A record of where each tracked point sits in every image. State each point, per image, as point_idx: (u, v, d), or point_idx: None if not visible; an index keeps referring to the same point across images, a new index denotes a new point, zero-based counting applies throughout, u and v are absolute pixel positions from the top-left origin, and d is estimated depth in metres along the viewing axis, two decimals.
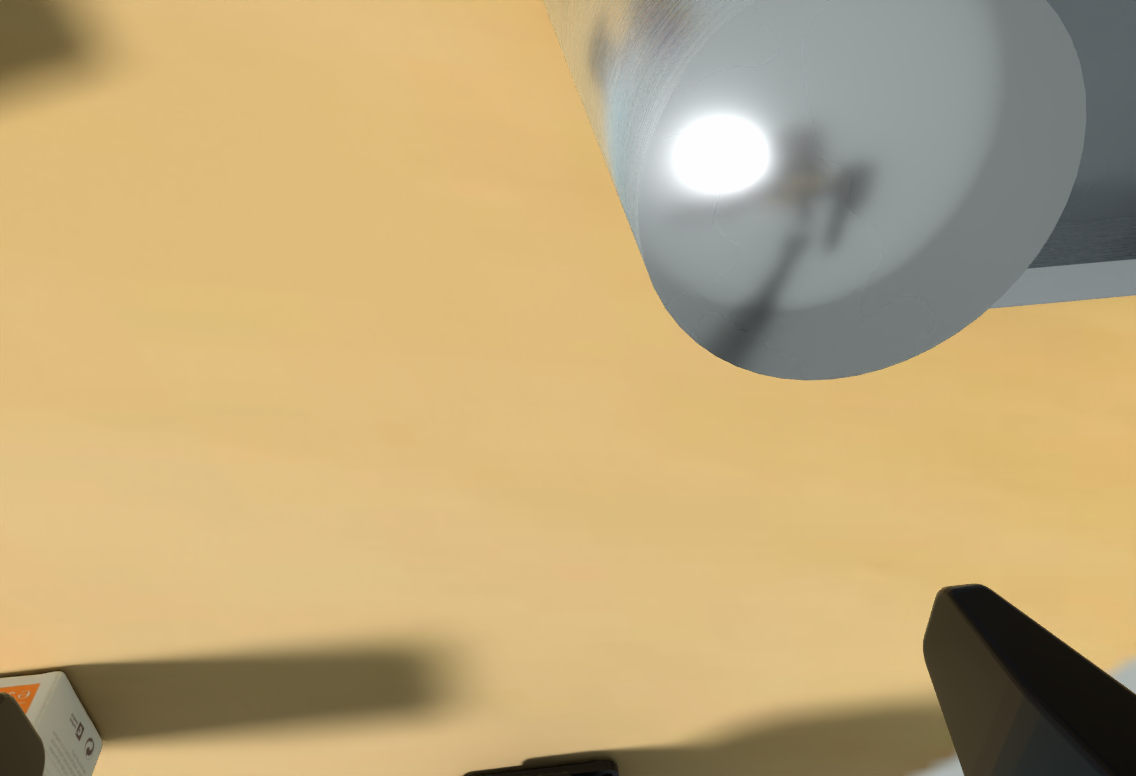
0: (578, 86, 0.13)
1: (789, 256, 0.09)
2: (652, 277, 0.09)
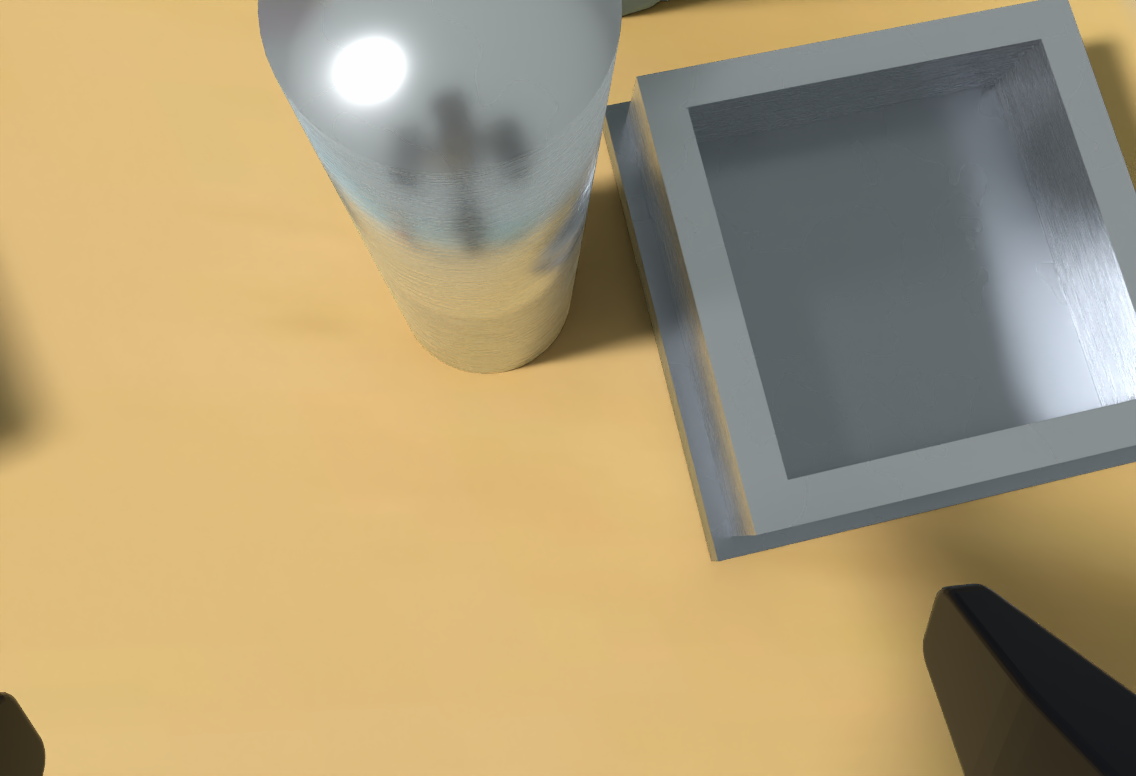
0: None
1: (397, 57, 0.11)
2: (284, 88, 0.11)
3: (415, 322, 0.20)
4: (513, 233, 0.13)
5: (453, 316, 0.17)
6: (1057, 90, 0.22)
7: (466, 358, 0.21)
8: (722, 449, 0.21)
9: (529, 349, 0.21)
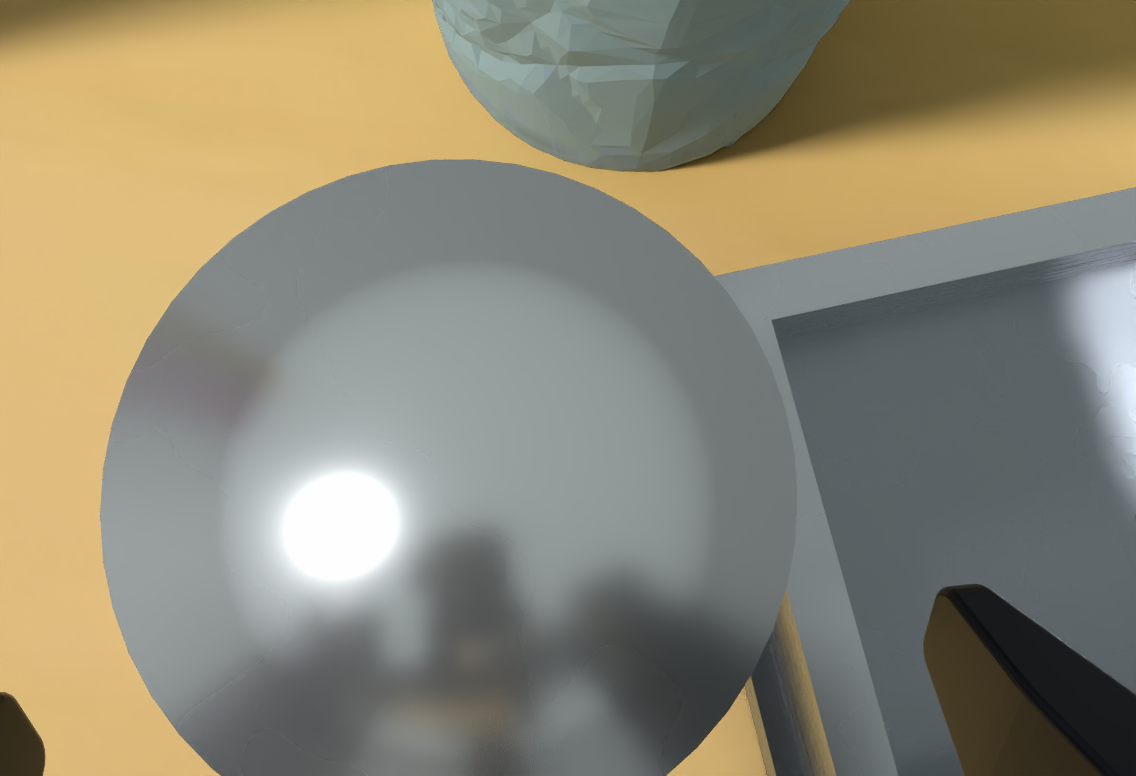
0: None
1: (370, 604, 0.05)
2: (147, 676, 0.05)
3: None
4: None
5: None
6: None
7: None
8: None
9: None
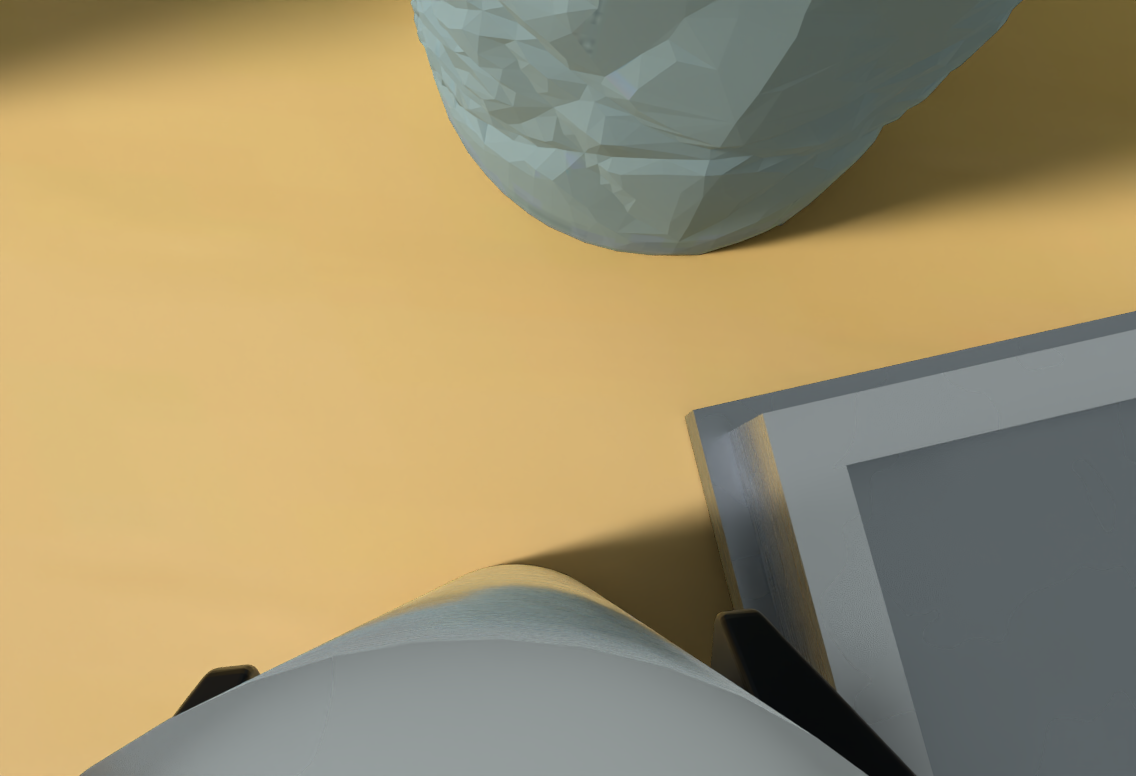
0: None
1: None
2: None
3: None
4: None
5: None
6: None
7: None
8: None
9: None
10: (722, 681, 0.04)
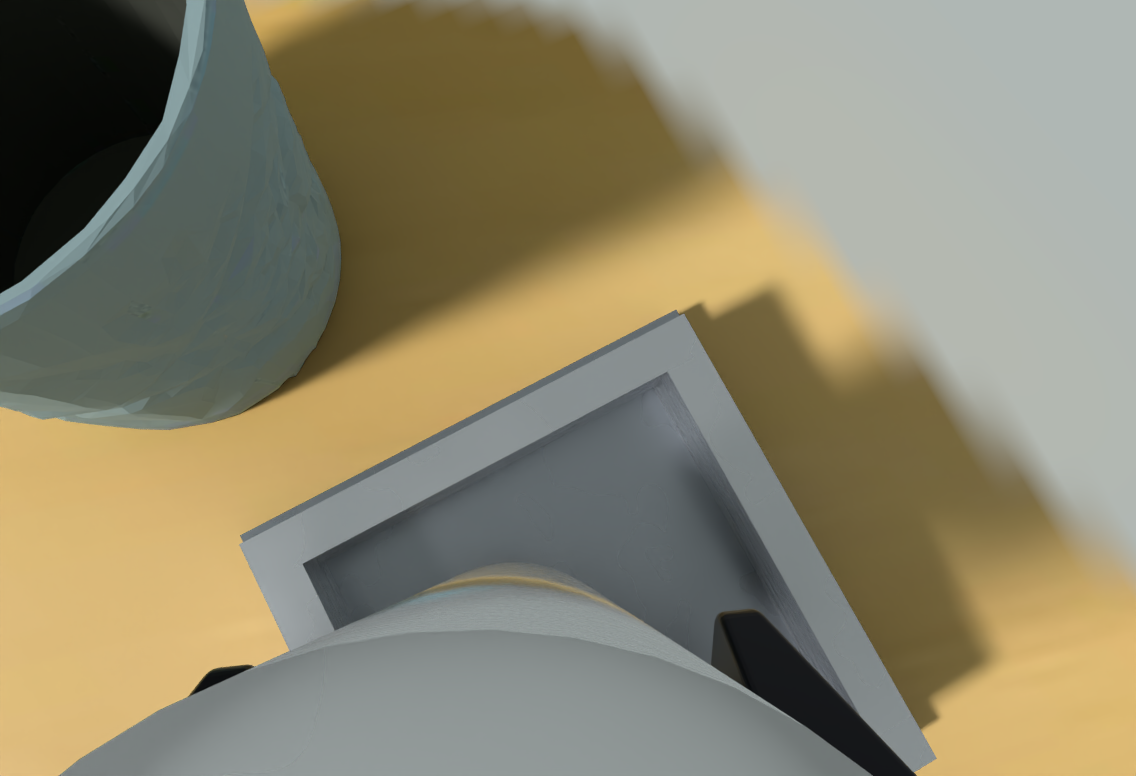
0: None
1: None
2: None
3: None
4: None
5: None
6: (696, 424, 0.20)
7: None
8: None
9: None
10: (714, 672, 0.04)
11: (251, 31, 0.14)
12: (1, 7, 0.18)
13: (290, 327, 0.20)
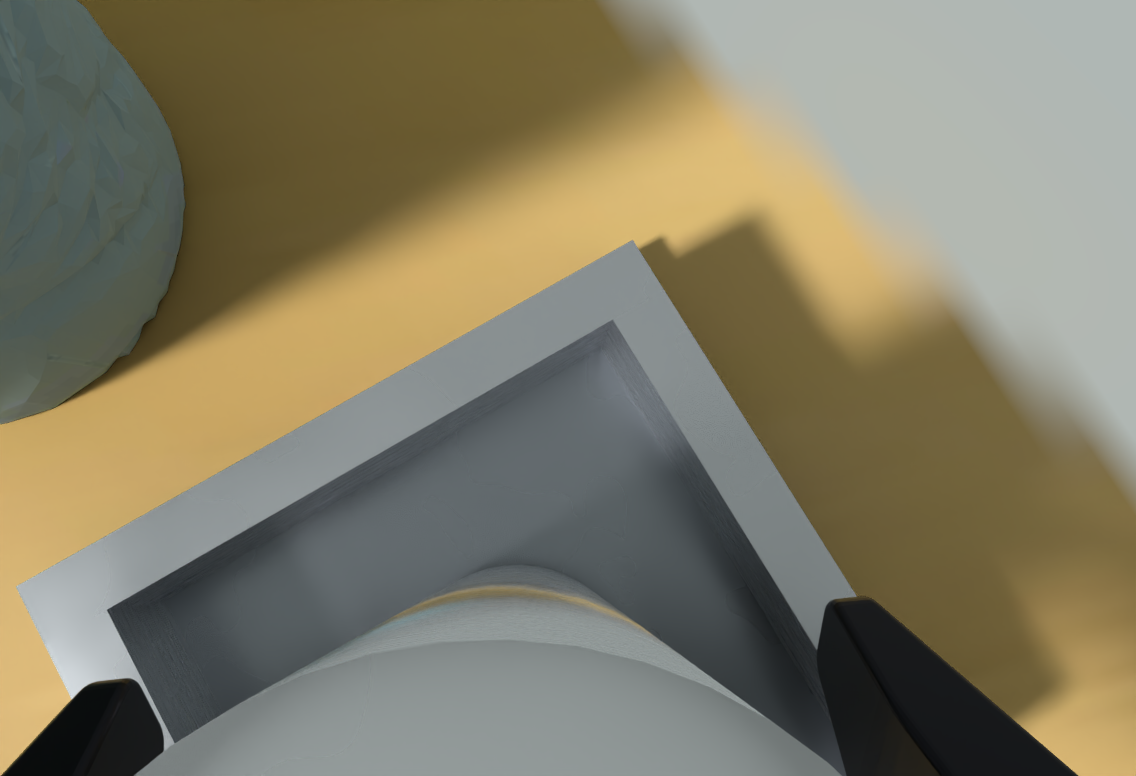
0: None
1: None
2: None
3: None
4: None
5: None
6: (655, 390, 0.14)
7: None
8: None
9: None
10: (697, 674, 0.04)
11: None
12: None
13: (91, 282, 0.15)
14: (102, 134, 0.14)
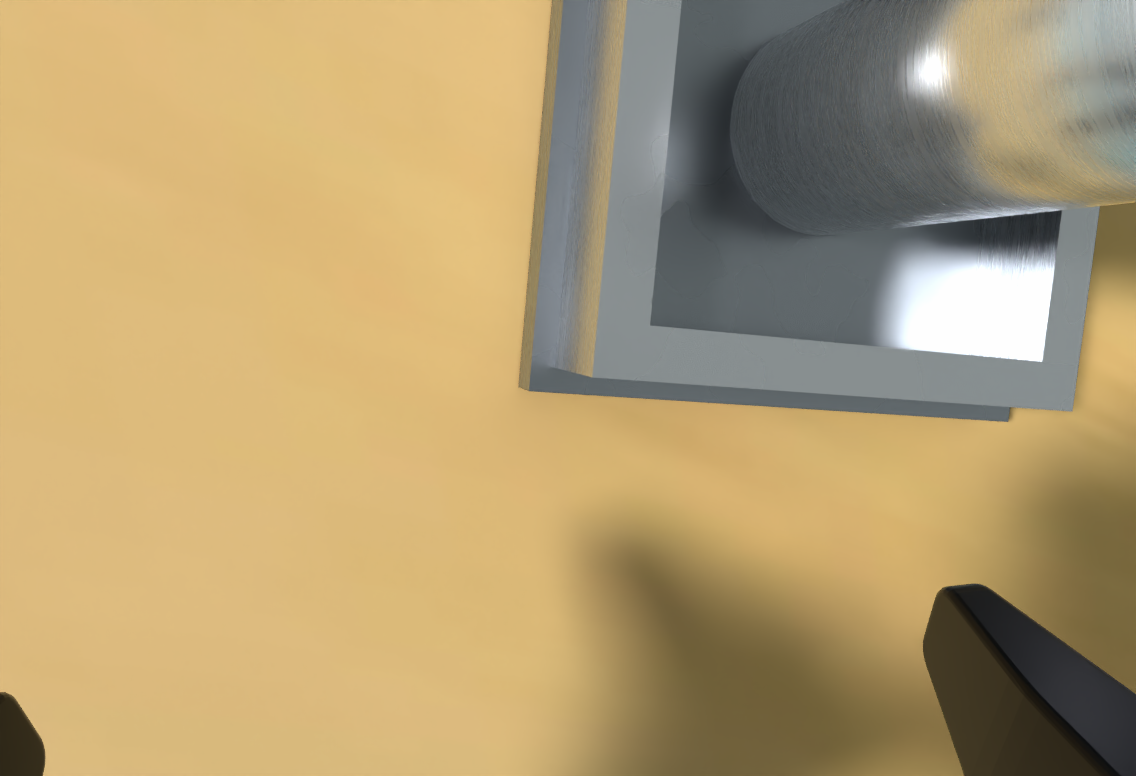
0: None
1: None
2: None
3: (825, 124, 0.15)
4: None
5: (947, 165, 0.13)
6: None
7: (800, 193, 0.17)
8: (584, 264, 0.16)
9: (854, 230, 0.18)
10: None
11: None
12: None
13: None
14: None
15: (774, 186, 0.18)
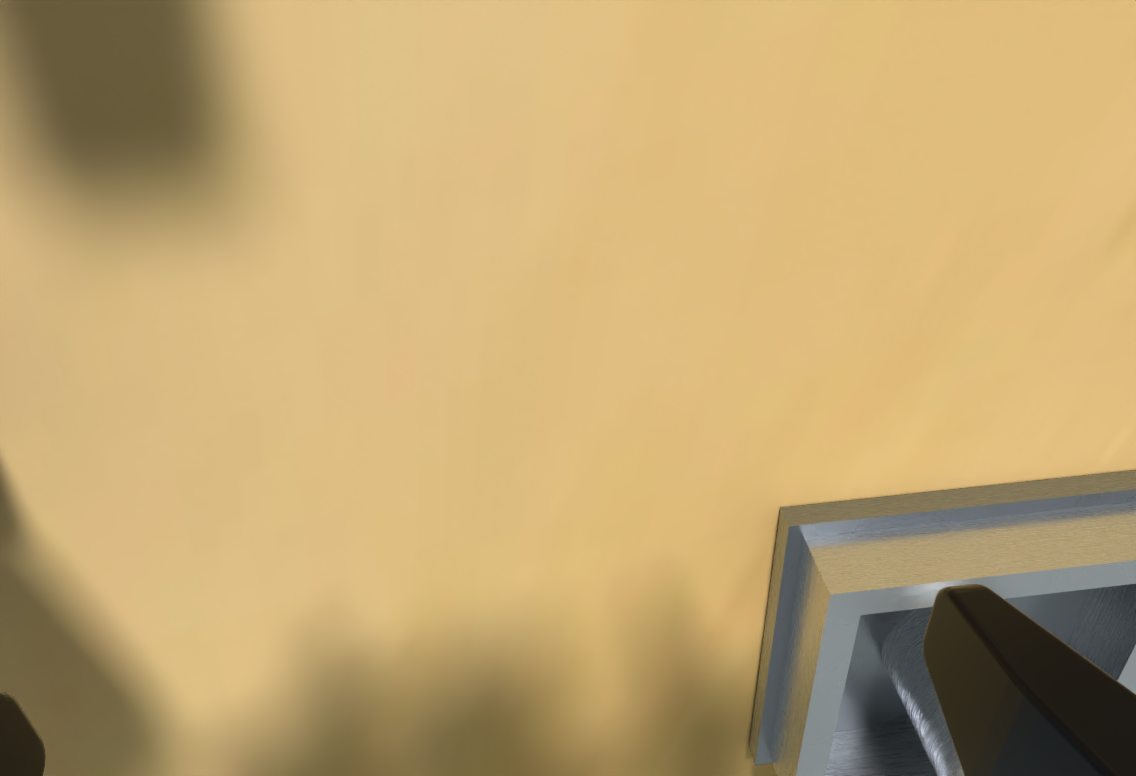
0: None
1: None
2: None
3: None
4: None
5: None
6: None
7: None
8: (887, 560, 0.25)
9: (901, 686, 0.28)
10: None
11: None
12: None
13: None
14: None
15: None
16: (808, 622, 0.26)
